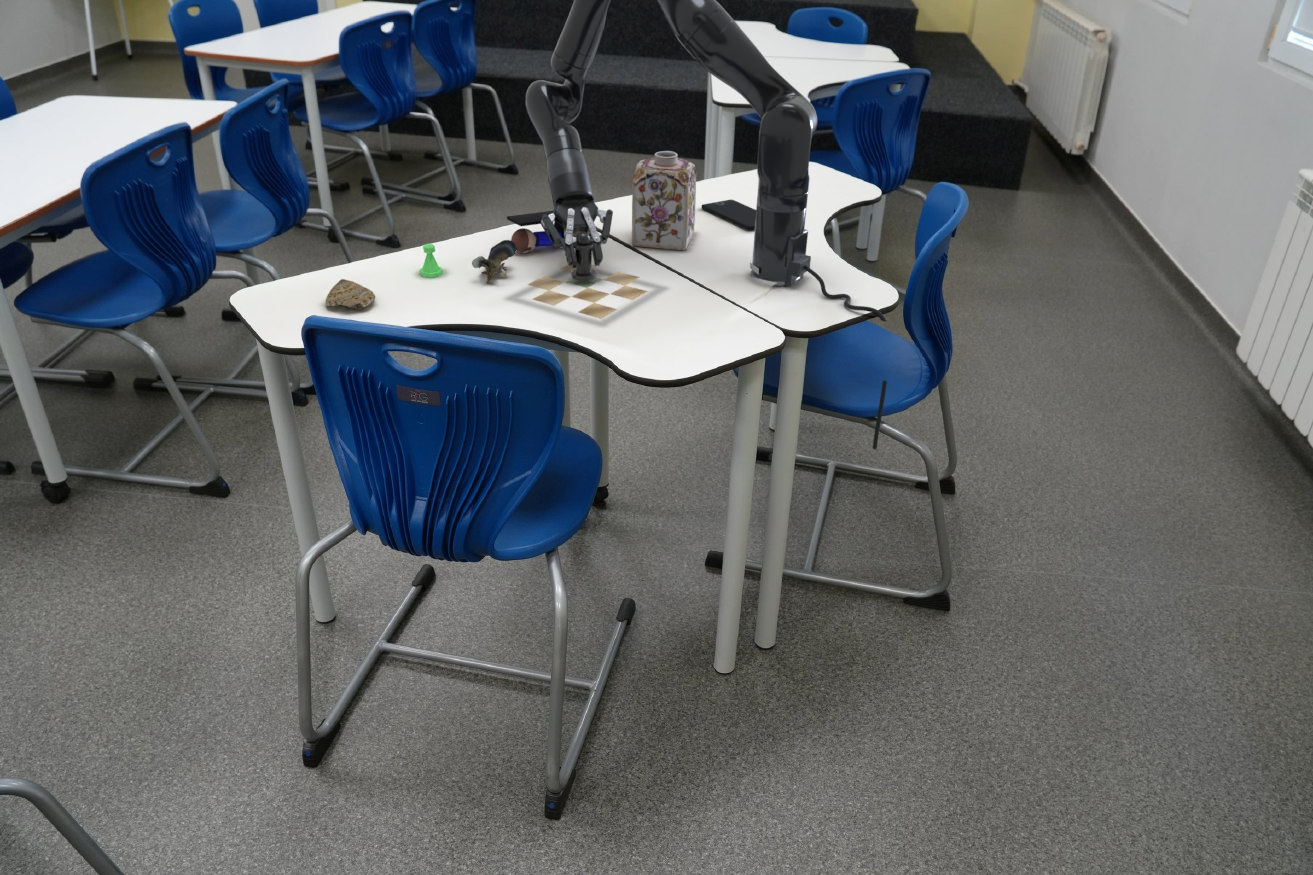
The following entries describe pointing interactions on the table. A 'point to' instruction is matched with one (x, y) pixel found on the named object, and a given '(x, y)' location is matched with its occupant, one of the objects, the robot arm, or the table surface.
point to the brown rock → (349, 295)
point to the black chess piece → (583, 258)
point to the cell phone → (733, 213)
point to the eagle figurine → (496, 259)
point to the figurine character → (529, 239)
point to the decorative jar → (663, 202)
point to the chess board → (588, 292)
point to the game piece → (430, 263)
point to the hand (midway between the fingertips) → (586, 264)
